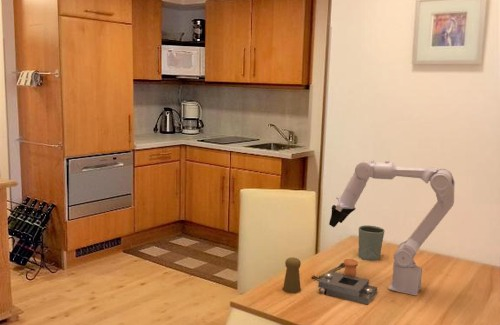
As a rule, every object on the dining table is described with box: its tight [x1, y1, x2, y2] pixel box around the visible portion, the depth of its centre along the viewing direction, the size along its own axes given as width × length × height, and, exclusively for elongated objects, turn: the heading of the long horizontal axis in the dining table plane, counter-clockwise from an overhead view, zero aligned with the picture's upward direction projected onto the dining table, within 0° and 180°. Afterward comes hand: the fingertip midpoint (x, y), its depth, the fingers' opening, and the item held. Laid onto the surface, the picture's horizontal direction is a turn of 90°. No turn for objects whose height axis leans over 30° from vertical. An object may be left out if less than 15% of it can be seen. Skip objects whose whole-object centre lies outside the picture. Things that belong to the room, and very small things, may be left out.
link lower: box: [325, 283, 378, 305], centre depth 169 cm, size 14×11×3 cm
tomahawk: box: [311, 262, 345, 282], centre depth 187 cm, size 21×7×1 cm, turn 137°
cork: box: [282, 257, 302, 294], centre depth 171 cm, size 6×6×11 cm
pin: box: [343, 258, 359, 277], centre depth 181 cm, size 5×5×7 cm
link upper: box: [317, 270, 370, 297], centre depth 171 cm, size 14×11×5 cm
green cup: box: [357, 225, 385, 262], centre depth 205 cm, size 10×10×12 cm
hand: (335, 223), depth 182 cm, fingers open, 7 cm apart
